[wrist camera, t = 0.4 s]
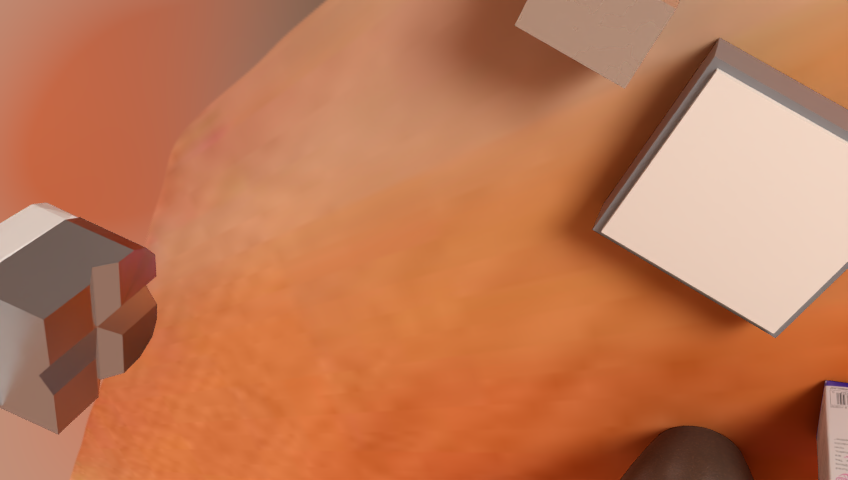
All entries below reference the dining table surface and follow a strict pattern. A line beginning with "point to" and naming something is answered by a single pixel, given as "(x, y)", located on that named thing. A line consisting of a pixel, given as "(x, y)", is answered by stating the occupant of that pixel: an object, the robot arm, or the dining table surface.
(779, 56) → the dining table surface
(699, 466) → the plant pot
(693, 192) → the stand
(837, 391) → the supplement box
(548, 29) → the housing
